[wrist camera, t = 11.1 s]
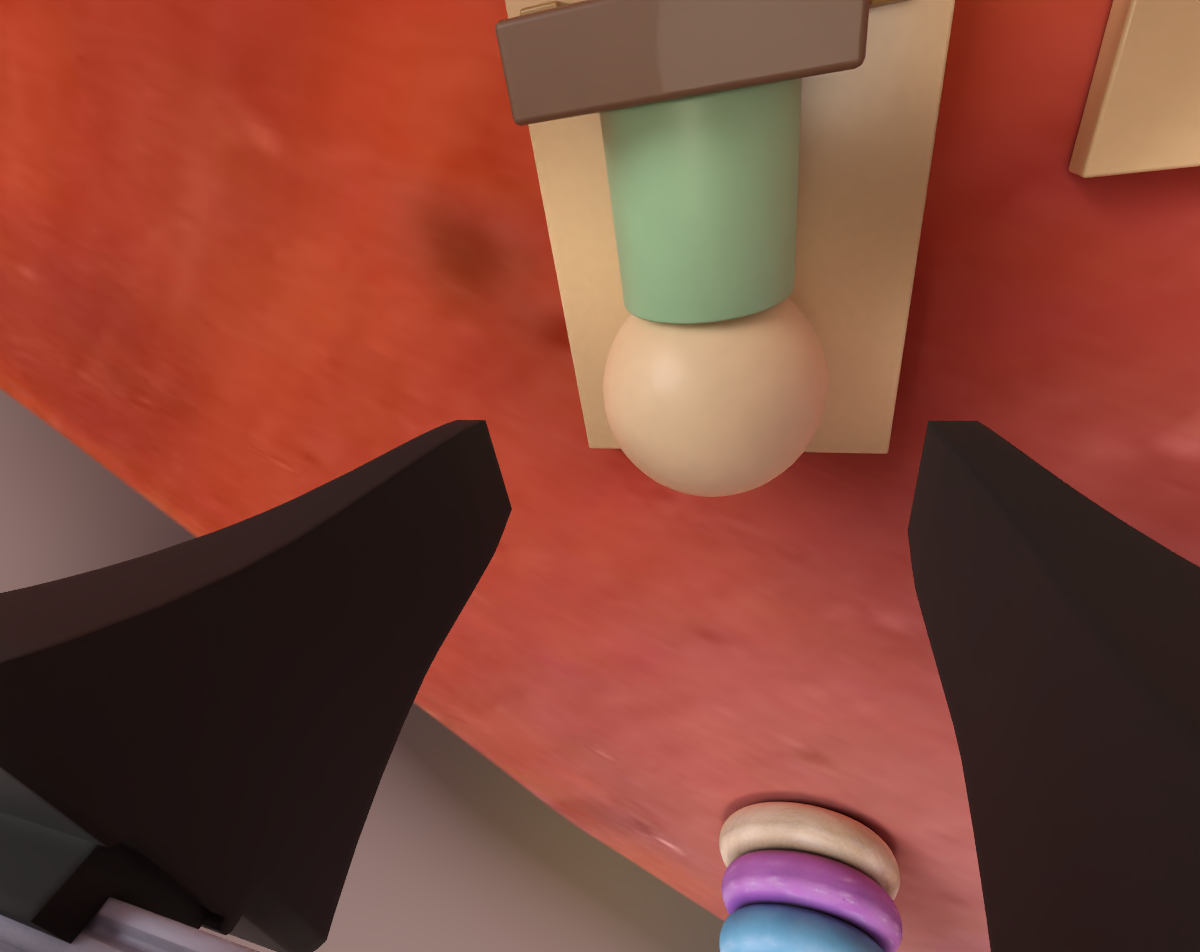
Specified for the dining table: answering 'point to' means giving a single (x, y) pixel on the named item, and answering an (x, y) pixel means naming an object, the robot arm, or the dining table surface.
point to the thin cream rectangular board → (824, 221)
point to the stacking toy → (806, 882)
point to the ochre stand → (1143, 92)
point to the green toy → (697, 215)
